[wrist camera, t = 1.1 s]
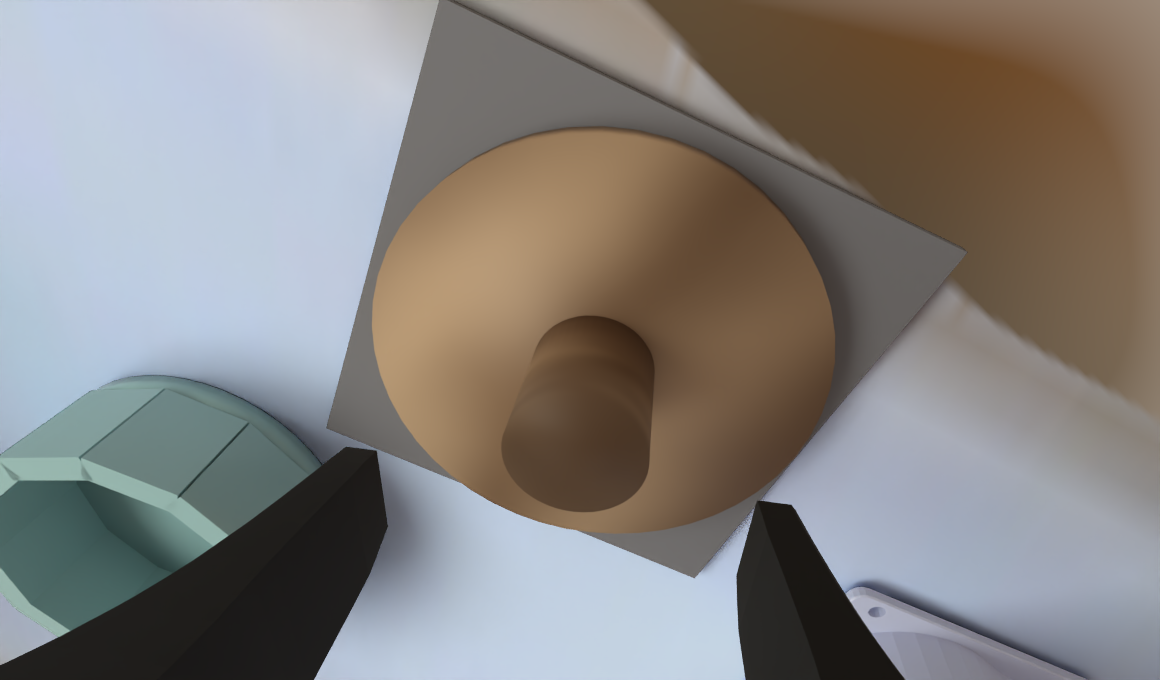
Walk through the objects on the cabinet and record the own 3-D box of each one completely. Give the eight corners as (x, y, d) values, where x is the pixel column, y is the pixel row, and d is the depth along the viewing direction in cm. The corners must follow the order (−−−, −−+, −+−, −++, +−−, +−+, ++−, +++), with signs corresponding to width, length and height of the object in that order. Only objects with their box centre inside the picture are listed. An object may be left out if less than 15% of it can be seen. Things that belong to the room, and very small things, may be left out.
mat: (962, 247, 15) (967, 252, 14) (694, 570, 21) (694, 578, 21) (444, -4, 13) (440, -4, 13) (330, 422, 20) (326, 428, 20)
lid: (934, 261, 15) (1021, 357, 11) (688, 563, 21) (690, 691, 17) (455, 31, 13) (371, 51, 10) (345, 422, 20) (267, 525, 16)
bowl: (371, 450, 20) (310, 546, 17) (317, 617, 25) (261, 717, 22) (68, 327, 19) (-62, 402, 16) (74, 526, 24) (-23, 615, 21)
